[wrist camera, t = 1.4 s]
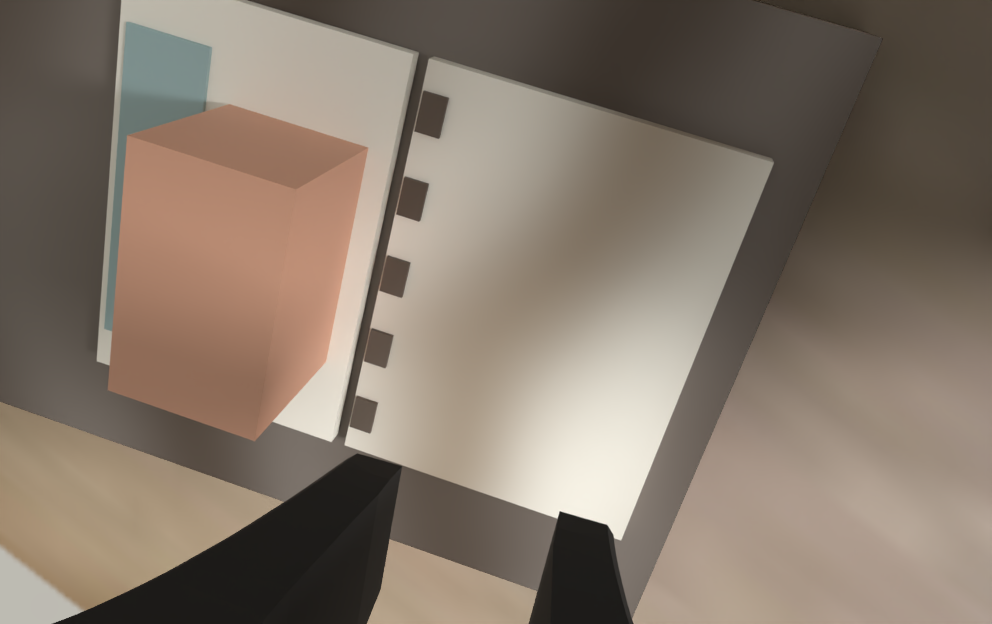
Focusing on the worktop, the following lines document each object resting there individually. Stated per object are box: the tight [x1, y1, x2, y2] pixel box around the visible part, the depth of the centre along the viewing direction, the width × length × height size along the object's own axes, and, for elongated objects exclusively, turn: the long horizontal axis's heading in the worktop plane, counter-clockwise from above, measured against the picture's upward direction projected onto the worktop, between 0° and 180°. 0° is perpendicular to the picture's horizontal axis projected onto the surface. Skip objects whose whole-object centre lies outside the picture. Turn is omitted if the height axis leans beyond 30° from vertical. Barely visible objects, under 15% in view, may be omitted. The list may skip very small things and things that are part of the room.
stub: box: [97, 0, 419, 442], centre depth 17 cm, size 6×9×4 cm, turn 165°
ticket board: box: [0, 0, 883, 618], centre depth 19 cm, size 22×14×2 cm, turn 75°
